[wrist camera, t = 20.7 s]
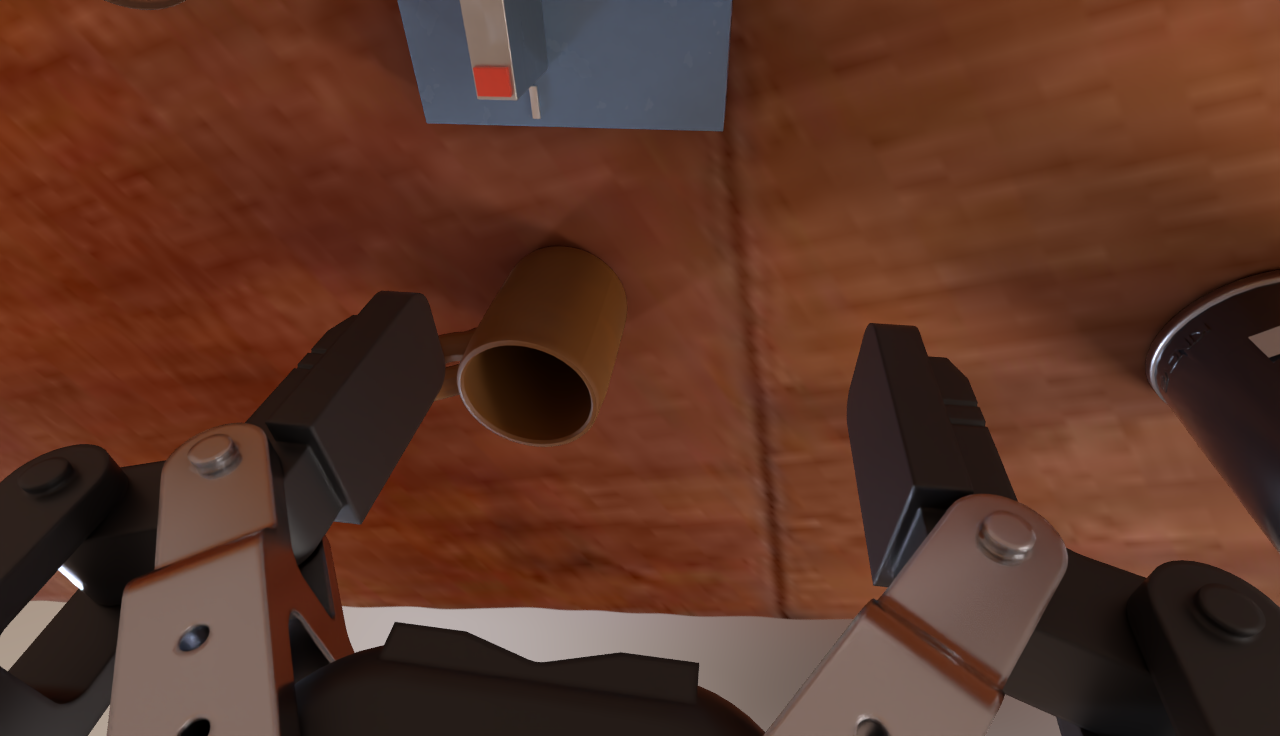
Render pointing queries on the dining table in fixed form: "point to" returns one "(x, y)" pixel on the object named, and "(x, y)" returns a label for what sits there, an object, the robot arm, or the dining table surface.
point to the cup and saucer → (146, 3)
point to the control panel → (586, 65)
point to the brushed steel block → (504, 46)
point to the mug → (541, 349)
